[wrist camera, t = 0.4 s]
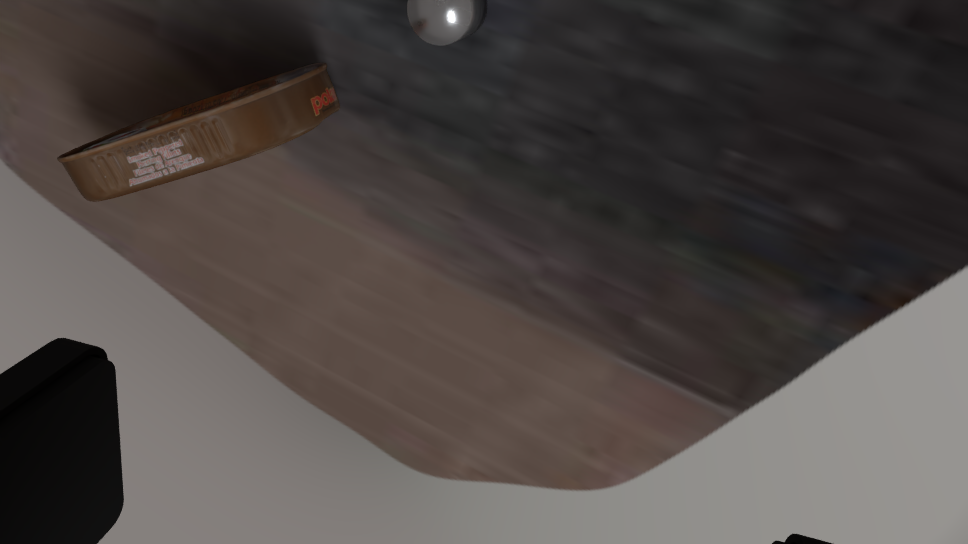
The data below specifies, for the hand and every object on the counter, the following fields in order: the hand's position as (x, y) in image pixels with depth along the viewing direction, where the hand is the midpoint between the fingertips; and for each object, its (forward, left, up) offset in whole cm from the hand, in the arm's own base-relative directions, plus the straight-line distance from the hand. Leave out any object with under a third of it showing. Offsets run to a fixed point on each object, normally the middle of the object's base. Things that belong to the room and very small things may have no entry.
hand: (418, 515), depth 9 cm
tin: (+11, -15, -29) cm, 35 cm away
